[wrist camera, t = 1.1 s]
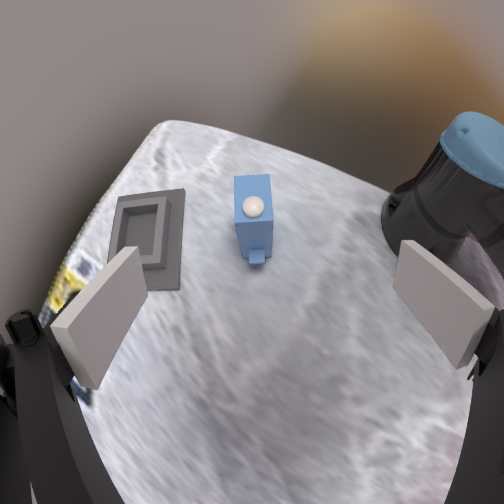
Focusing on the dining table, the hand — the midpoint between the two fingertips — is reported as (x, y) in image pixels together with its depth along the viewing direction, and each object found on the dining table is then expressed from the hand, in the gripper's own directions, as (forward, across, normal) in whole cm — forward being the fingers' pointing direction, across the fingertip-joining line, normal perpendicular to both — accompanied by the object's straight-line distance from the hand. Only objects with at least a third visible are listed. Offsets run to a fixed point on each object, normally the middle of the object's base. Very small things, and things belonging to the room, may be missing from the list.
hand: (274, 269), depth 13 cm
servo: (+26, 0, -8) cm, 27 cm away
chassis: (+27, -17, -8) cm, 33 cm away
